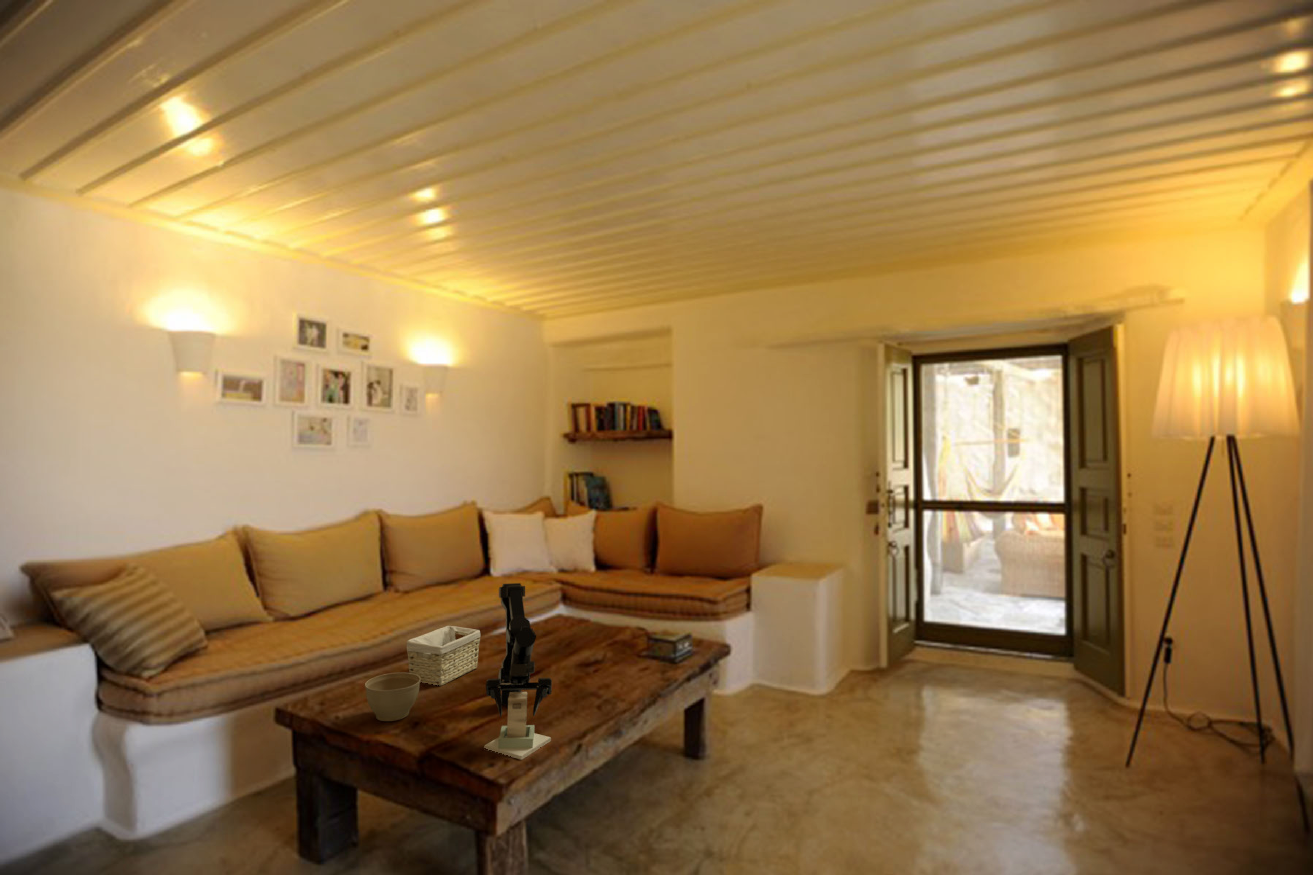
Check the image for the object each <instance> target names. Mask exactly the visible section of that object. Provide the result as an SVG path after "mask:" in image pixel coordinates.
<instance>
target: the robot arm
mask: <svg viewBox="0 0 1313 875" xmlns="http://www.w3.org/2000/svg"><path fill="white" fill-rule="evenodd" d="M524 597H526V586H525V585H522V584H521V583H520V582H516V583H515V582H514V583H513V582H511V583H502V585H501V586H499V588H498V598H500V604H501V606H502V607H503V610H505V653H506V654H505V657H504V658H503V660H502V662H501V667H500V668H499V672H498V678H488V679H487V680H486V681H485V682H486V683H485V692H486V696H487V697H490V698H491V699H494V701H495V703H496V706H497V709H498V713H499V714H498V715H499V717H500V718H501V717H502V715H503V708H502V707H503V706H505V707H508V698H509V693H510V692H522V691H524V690H525V691H526V690H529V691H530V690H536V692H535V698H534V704H533V709H532V716H533V717H535V716H536V713H537V711H538V708H539V706H540V704H541V702H542V701H543V699H544V698H547V697H548V696H549V695H551V694H552V688H553V687H552V686H553V685H552V684H553V681H552V680H553V679H552V678H551V677H538V679H537V682H530V678H531V674H535V664H536V662H535V661H532V653H533V649H534V646H535V642H536V639H537V634H536V631H535V630H534V628H533V627H531V622H530V620H529V619H528V618H527V617H526V615H525V608H524V600H523V599H524Z"/></svg>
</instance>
